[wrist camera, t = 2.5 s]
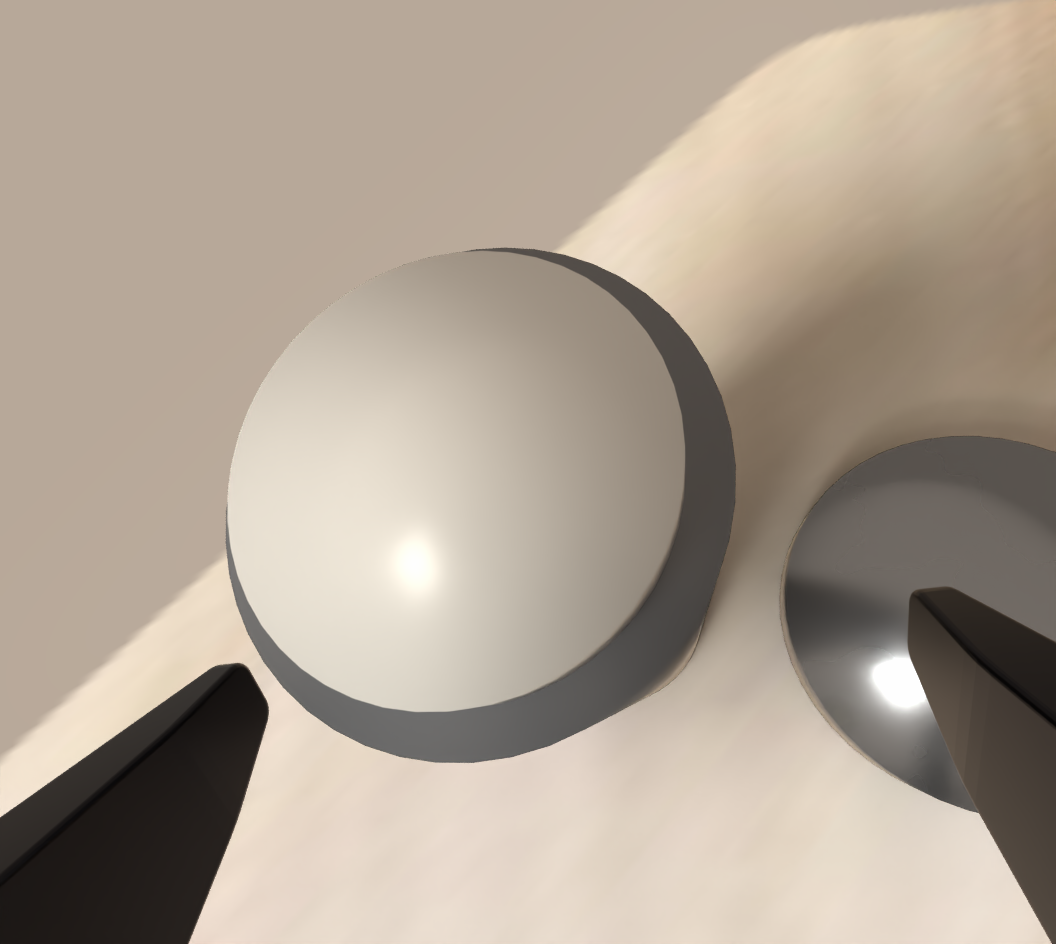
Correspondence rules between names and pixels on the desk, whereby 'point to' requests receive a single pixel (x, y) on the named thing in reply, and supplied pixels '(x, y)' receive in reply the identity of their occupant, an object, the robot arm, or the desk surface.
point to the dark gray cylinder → (480, 505)
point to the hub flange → (914, 585)
